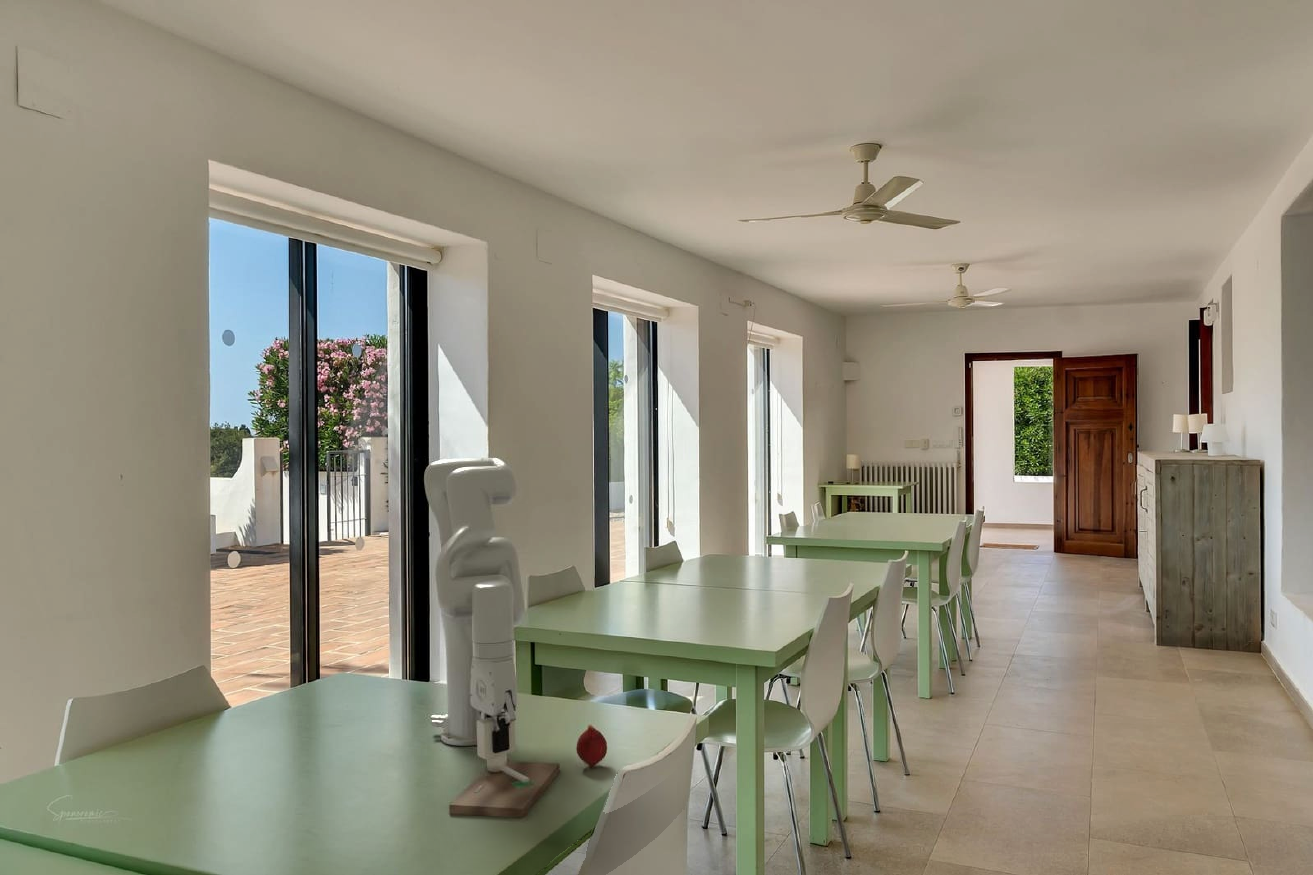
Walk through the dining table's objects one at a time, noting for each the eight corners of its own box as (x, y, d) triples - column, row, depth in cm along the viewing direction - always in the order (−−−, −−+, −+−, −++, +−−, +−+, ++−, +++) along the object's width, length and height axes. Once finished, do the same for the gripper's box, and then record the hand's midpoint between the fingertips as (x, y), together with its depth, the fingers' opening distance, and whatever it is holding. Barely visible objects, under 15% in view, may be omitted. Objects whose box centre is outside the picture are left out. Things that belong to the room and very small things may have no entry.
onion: (612, 762, 175) (611, 721, 175) (600, 773, 169) (599, 730, 169) (584, 760, 177) (583, 718, 177) (572, 770, 171) (570, 728, 171)
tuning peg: (476, 770, 167) (475, 720, 167) (507, 761, 172) (506, 712, 172) (510, 789, 158) (509, 736, 158) (542, 779, 162) (540, 728, 162)
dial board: (449, 813, 153) (449, 804, 153) (494, 768, 173) (494, 759, 173) (523, 817, 150) (523, 808, 150) (559, 771, 171) (559, 762, 171)
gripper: (454, 645, 172) (457, 742, 172) (497, 660, 159) (500, 765, 159) (490, 639, 177) (492, 733, 177) (534, 653, 164) (537, 755, 164)
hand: (496, 747), depth 168 cm, fingers closed on tuning peg, 2 cm apart
